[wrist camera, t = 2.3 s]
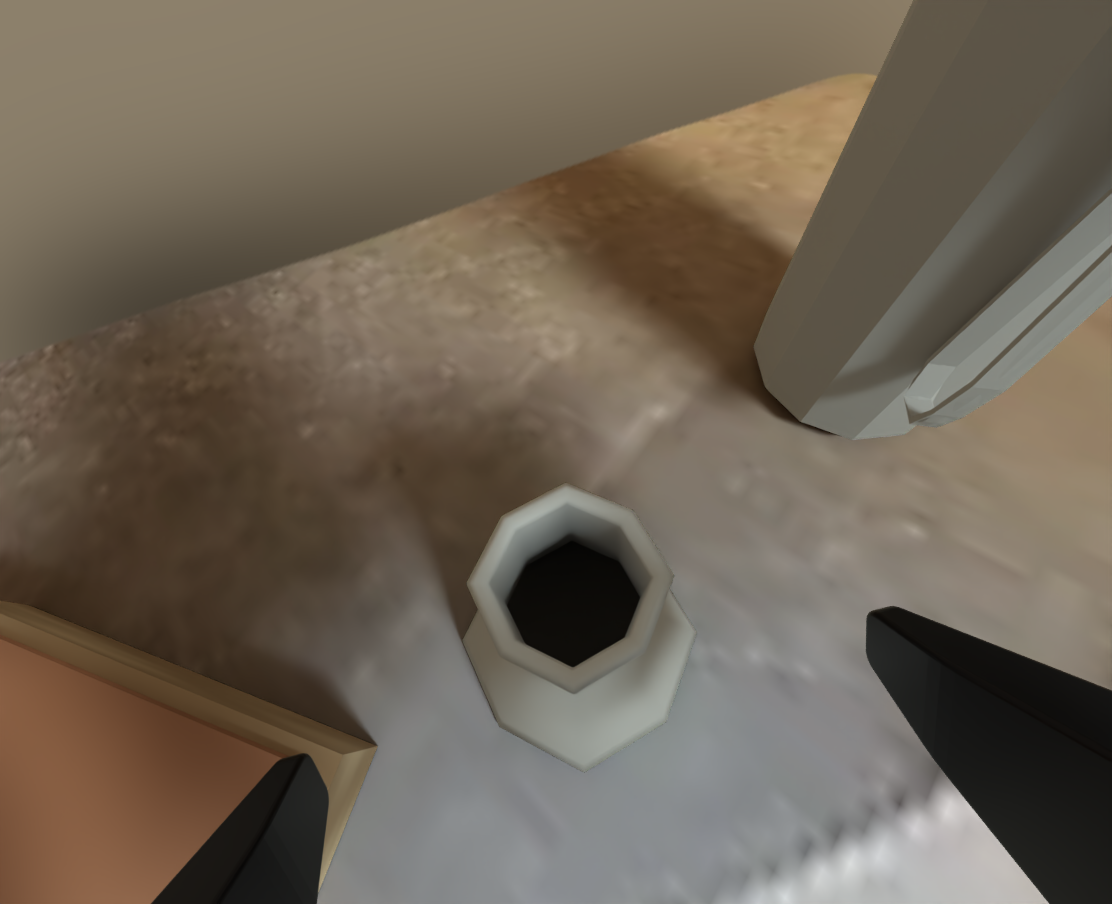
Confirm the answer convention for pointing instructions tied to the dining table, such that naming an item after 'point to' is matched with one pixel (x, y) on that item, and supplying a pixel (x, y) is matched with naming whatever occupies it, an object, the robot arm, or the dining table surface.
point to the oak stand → (132, 763)
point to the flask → (576, 627)
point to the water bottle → (953, 221)
